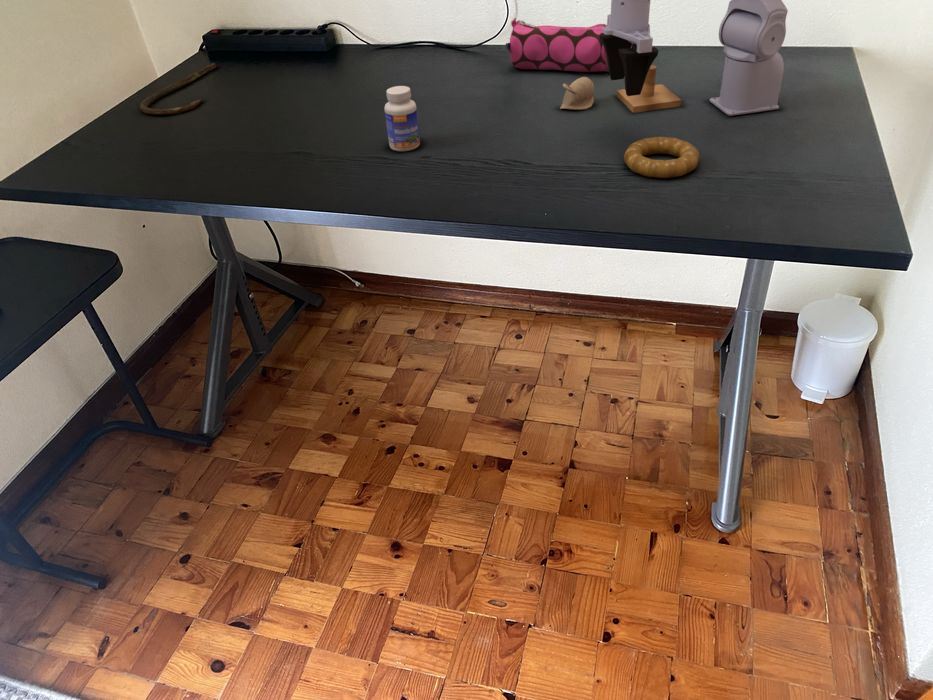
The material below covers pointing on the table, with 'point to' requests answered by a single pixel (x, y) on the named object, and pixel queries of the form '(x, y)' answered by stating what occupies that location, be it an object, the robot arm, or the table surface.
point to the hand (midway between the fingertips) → (625, 86)
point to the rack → (650, 96)
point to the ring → (661, 167)
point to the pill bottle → (401, 119)
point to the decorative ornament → (578, 94)
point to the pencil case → (557, 47)
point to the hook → (169, 90)
